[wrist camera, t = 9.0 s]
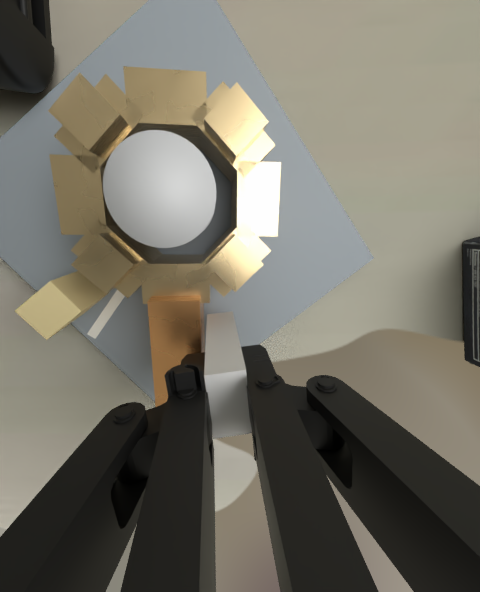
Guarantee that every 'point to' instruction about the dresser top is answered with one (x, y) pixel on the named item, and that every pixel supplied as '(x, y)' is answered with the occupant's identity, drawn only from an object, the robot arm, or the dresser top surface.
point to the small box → (471, 300)
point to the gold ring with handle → (146, 259)
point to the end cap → (25, 45)
